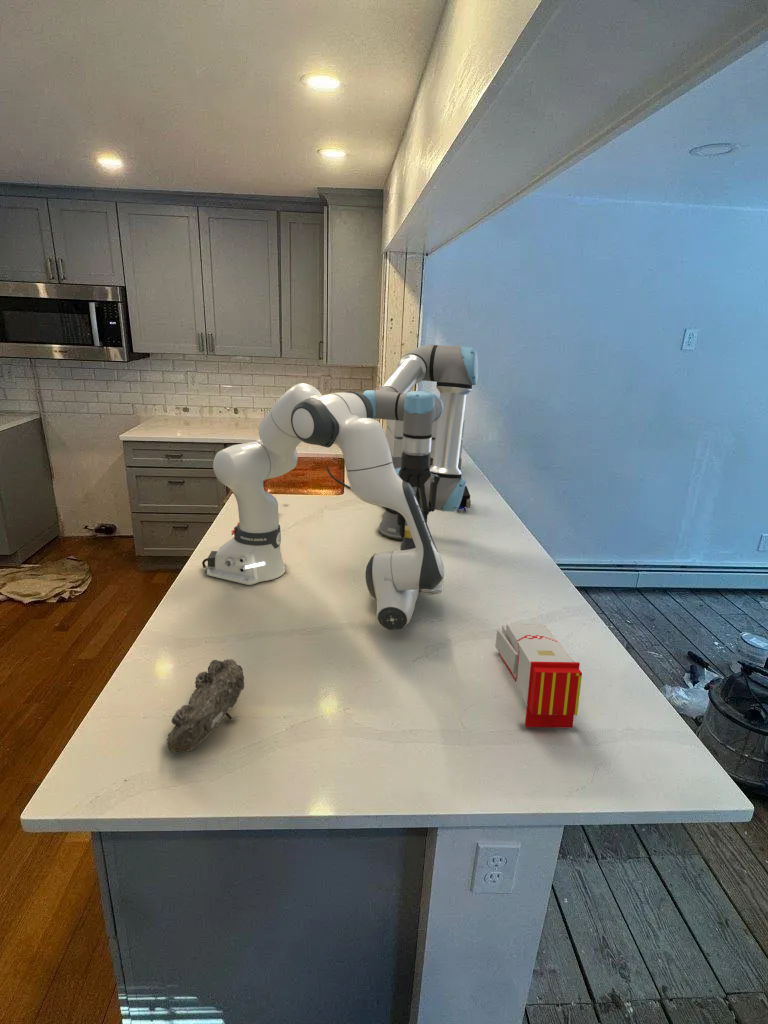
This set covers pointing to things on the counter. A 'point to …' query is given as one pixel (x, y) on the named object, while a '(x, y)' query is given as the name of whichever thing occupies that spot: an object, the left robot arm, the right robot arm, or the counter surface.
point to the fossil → (206, 705)
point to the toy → (541, 674)
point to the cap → (407, 532)
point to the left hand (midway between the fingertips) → (409, 566)
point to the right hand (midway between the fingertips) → (410, 535)
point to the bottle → (407, 544)
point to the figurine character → (465, 500)
